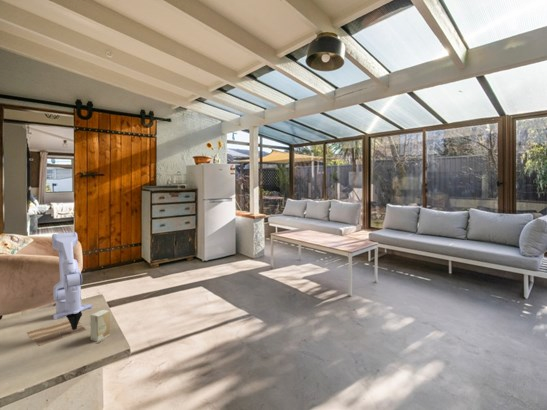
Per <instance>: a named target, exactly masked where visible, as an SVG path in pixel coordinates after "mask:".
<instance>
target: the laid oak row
mask: <svg viewBox="0 0 547 410" xmlns="http://www.w3.org/2000/svg"><path fill="white" fill-rule="evenodd" d="M79 325H82V323H81V322H80V321H79V322H78V325H77V326H79ZM82 326H83V325H82ZM70 328H72V327H71V324H70V322H69V320H68V319H67V320H64V321H60V322H57V323H53V324H50V325H47V326H44V327H40V328H37V329H34V330H30V331H27V332H26V333H27V335H28V337H29V339H30V340H31V341H35V340H36V339H39V338H42V337H45V336H48V335H51V334H54V333H58V332H59V333H60V332H61V331H64V330H67V329H70Z"/></svg>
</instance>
